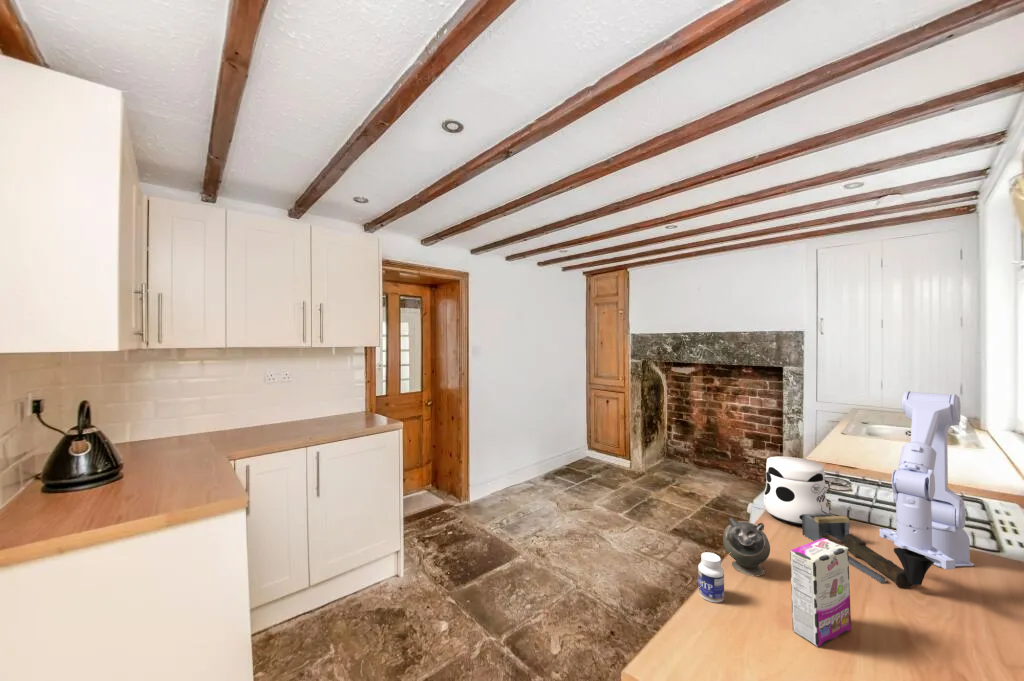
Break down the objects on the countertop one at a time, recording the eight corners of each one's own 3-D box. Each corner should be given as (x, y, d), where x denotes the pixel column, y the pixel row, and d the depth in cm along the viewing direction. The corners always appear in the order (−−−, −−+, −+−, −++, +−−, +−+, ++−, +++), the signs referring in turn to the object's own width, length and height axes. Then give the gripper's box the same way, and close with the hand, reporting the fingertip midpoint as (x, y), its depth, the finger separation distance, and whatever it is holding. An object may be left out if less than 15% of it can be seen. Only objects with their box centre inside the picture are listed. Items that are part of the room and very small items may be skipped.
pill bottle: (693, 592, 92) (692, 553, 92) (709, 586, 94) (709, 548, 94) (713, 606, 87) (712, 565, 87) (729, 599, 89) (729, 559, 89)
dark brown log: (916, 590, 92) (916, 569, 92) (897, 588, 92) (897, 568, 92) (855, 548, 111) (855, 531, 111) (839, 547, 111) (839, 530, 111)
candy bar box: (823, 615, 84) (822, 536, 84) (852, 630, 79) (850, 547, 79) (789, 631, 79) (788, 548, 79) (817, 648, 75) (816, 560, 75)
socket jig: (831, 533, 119) (831, 509, 119) (916, 581, 95) (916, 551, 95) (802, 534, 118) (802, 510, 118) (880, 583, 94) (880, 552, 95)
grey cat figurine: (731, 578, 97) (778, 582, 95) (729, 529, 98) (776, 531, 95) (719, 556, 107) (761, 559, 105) (717, 512, 107) (759, 513, 105)
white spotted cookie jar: (844, 531, 120) (843, 471, 121) (786, 531, 121) (785, 471, 121) (803, 507, 138) (802, 455, 138) (752, 507, 138) (751, 455, 138)
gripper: (867, 510, 98) (868, 566, 98) (932, 539, 84) (933, 605, 84) (894, 510, 99) (895, 565, 98) (963, 538, 84) (965, 603, 84)
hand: (914, 583), depth 91 cm, fingers closed
